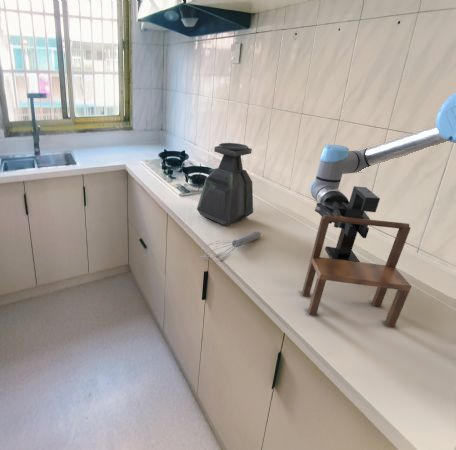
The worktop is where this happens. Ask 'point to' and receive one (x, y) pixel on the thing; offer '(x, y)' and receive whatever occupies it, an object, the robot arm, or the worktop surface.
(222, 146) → the dark grey vase
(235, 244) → the kitchen whisk
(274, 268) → the worktop surface
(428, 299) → the worktop surface
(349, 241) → the black pedestal stand
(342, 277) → the chair
